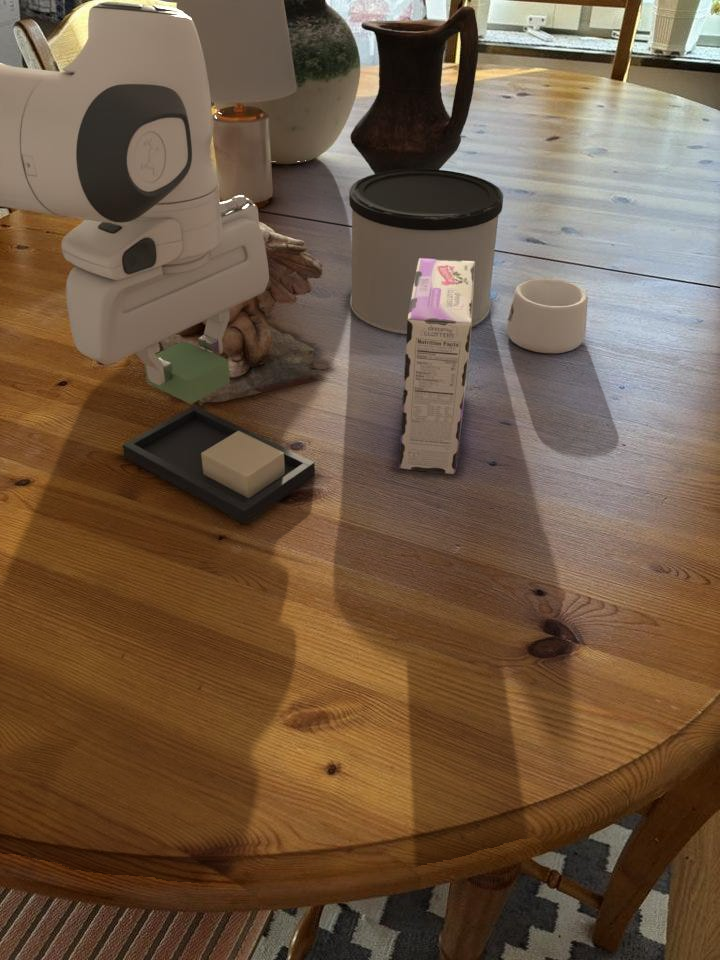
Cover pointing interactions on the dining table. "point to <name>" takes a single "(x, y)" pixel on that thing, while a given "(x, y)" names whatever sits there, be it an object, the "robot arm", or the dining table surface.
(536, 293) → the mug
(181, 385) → the sage pad
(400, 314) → the container
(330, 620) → the dining table surface
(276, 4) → the lamp
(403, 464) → the candy box
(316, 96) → the vase
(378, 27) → the jug
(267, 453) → the cream pad
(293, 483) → the dark serving tray
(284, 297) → the cherub figurine
